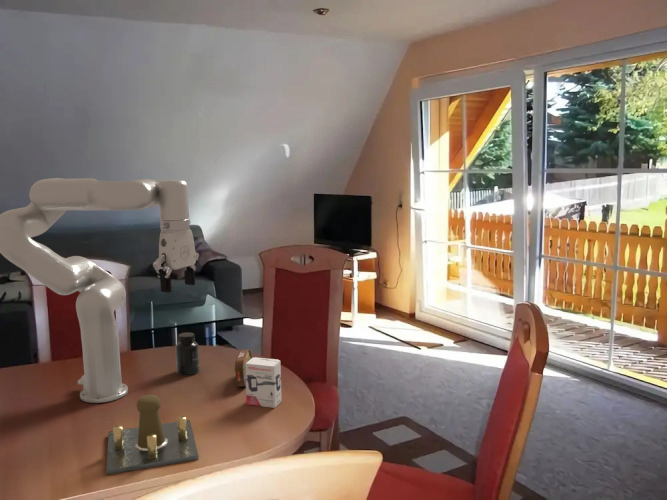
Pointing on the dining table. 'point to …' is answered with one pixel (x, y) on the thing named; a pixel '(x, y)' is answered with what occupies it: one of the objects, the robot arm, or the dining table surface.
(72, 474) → the dining table surface
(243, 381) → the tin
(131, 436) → the chassis plate
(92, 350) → the robot arm
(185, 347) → the supplement bottle
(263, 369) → the ink box
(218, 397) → the dining table surface
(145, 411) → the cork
